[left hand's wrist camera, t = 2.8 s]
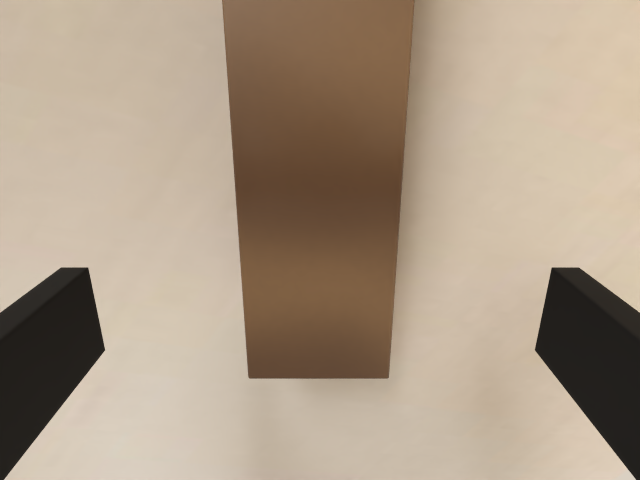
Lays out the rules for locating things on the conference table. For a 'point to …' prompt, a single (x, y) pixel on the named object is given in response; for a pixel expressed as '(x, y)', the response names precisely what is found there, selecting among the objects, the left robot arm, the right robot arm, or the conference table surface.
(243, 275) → the bar
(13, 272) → the conference table surface
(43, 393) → the left robot arm
